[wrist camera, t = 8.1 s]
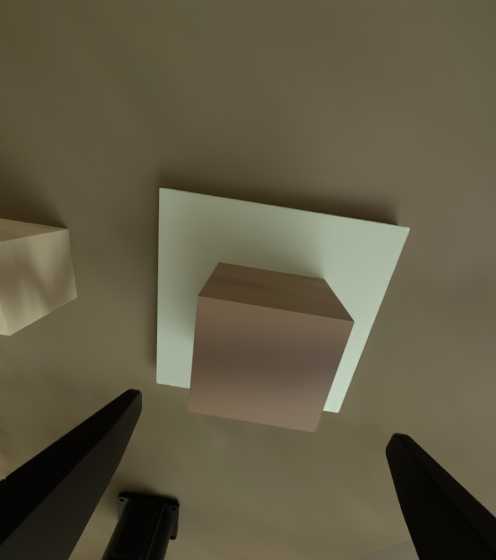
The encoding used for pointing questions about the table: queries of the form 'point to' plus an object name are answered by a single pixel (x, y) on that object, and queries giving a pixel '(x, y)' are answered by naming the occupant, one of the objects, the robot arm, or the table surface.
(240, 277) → the walnut block
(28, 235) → the maple block
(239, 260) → the plate
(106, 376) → the table surface
